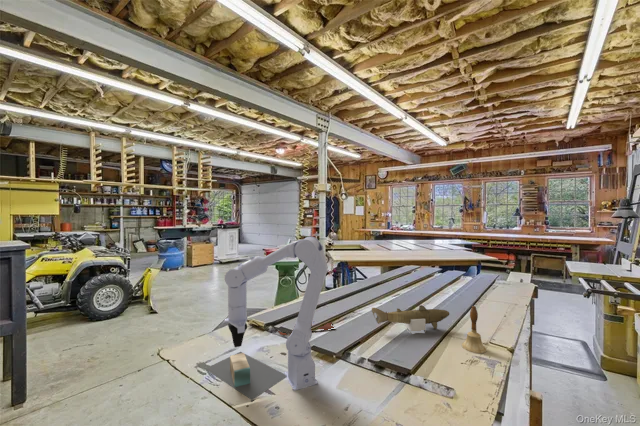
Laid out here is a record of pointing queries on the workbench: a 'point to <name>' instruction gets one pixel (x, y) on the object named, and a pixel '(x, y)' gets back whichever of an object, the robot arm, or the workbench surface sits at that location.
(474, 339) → the hand bell
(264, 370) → the rubber mat
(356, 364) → the workbench surface
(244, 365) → the beech block
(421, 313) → the wood carving
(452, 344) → the workbench surface
